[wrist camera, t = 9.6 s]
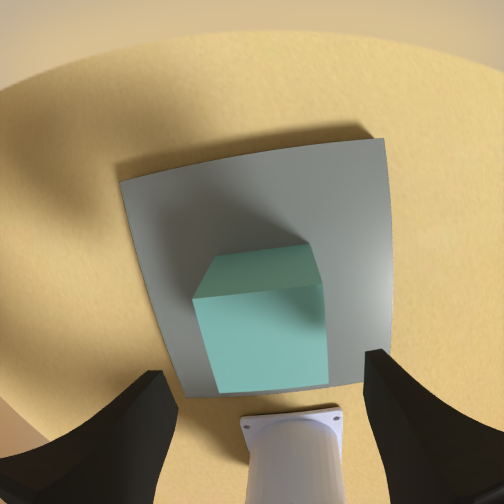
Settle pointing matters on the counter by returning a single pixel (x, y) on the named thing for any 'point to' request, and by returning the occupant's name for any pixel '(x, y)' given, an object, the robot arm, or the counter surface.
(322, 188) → the cutting board
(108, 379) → the counter surface
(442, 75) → the counter surface
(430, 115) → the counter surface
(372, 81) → the counter surface
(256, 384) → the cube
